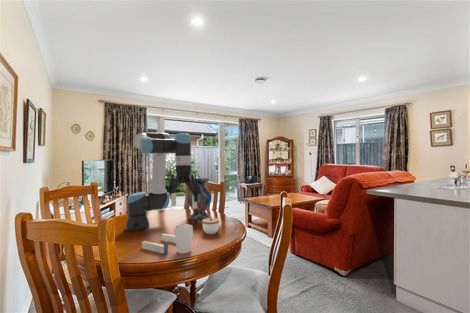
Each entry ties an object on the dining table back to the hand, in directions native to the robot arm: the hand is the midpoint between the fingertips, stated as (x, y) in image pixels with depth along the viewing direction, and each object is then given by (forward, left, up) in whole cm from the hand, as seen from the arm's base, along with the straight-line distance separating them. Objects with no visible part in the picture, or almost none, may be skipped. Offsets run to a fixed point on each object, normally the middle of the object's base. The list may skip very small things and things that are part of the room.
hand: (183, 207), depth 120 cm
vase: (-35, +58, -22) cm, 71 cm away
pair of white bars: (-14, 0, -22) cm, 26 cm away
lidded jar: (-5, +30, -22) cm, 37 cm away
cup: (0, 0, -22) cm, 22 cm away
